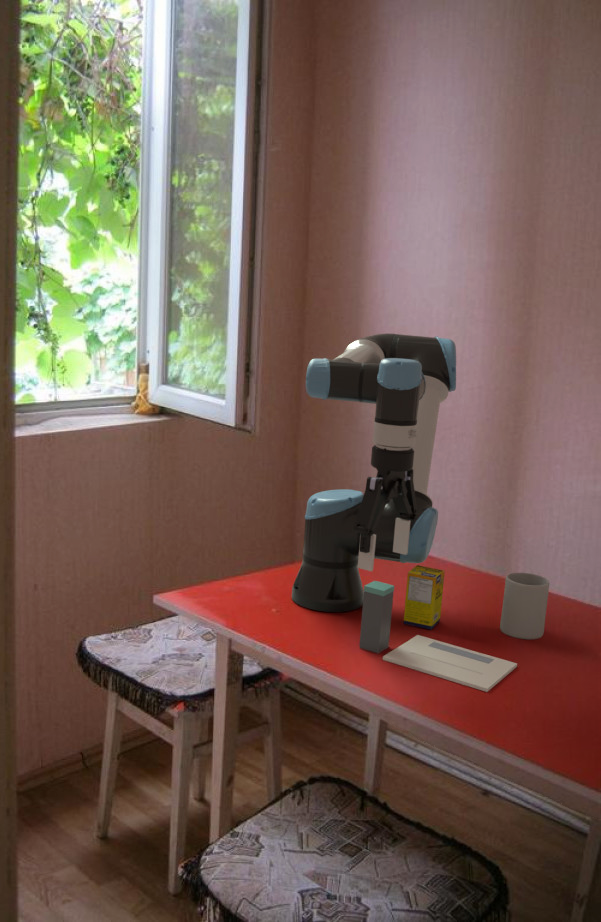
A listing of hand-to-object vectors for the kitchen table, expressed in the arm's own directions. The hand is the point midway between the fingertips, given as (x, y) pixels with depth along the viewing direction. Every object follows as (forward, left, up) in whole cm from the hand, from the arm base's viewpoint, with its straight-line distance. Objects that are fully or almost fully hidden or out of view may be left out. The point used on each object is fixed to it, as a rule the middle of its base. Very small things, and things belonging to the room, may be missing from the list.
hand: (383, 561), depth 173 cm
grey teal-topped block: (0, 0, -17) cm, 17 cm away
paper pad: (+14, +3, -17) cm, 22 cm away
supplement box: (+1, +18, -17) cm, 24 cm away
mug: (+17, +29, -17) cm, 37 cm away
